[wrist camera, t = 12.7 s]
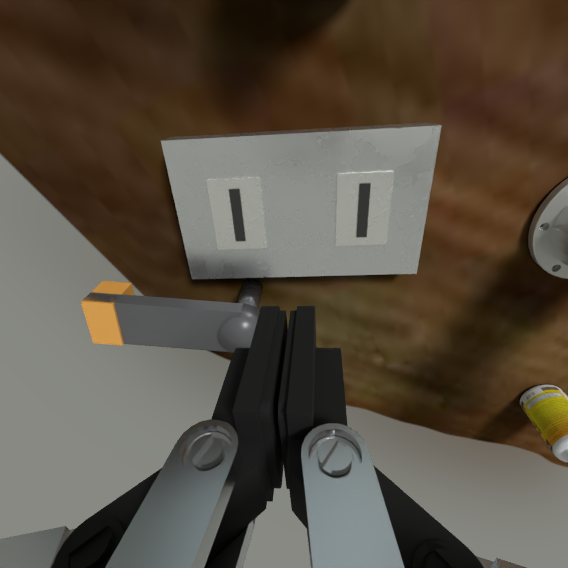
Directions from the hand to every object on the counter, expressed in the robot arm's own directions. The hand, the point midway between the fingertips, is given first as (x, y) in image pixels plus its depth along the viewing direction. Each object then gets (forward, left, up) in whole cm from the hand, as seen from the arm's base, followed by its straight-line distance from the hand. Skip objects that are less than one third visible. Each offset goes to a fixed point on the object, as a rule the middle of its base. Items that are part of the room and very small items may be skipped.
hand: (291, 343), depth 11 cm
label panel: (0, +3, -26) cm, 26 cm away
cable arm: (+12, +12, -21) cm, 27 cm away
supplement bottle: (-33, +32, -26) cm, 53 cm away
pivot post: (+6, +13, -26) cm, 29 cm away
